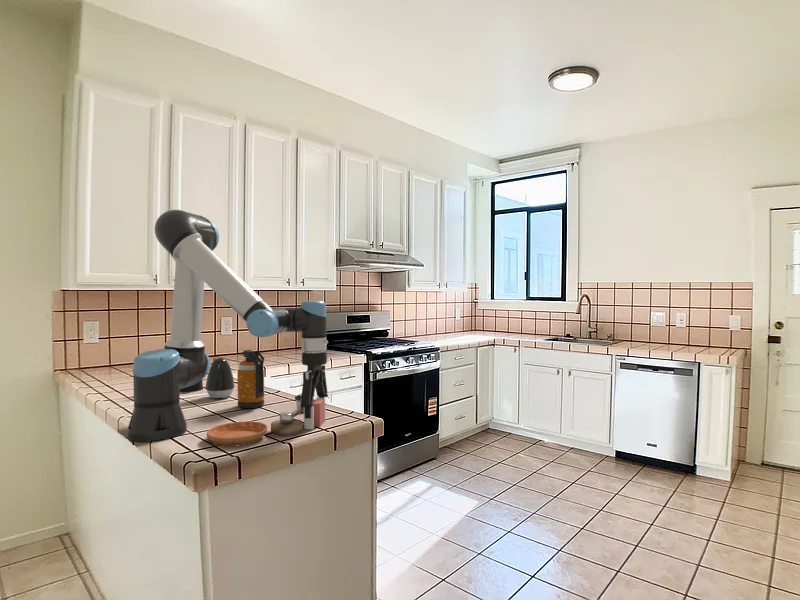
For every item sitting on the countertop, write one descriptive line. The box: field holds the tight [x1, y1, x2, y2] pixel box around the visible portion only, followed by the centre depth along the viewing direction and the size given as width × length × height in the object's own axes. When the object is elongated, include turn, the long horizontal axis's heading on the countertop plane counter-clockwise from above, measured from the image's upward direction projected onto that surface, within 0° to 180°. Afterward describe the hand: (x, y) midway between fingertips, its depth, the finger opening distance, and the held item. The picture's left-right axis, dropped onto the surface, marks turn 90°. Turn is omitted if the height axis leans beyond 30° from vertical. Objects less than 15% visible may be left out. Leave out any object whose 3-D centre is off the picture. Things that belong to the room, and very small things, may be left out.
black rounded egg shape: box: [205, 357, 235, 400], centre depth 181 cm, size 10×10×15 cm
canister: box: [236, 349, 265, 409], centre depth 166 cm, size 9×11×20 cm
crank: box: [279, 393, 304, 424], centre depth 141 cm, size 12×4×6 cm, turn 163°
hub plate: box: [270, 418, 304, 437], centre depth 137 cm, size 9×9×3 cm
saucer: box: [206, 420, 269, 447], centre depth 131 cm, size 16×16×3 cm
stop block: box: [312, 398, 326, 428], centre depth 145 cm, size 5×5×7 cm
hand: (315, 423), depth 145 cm, fingers open, 11 cm apart
